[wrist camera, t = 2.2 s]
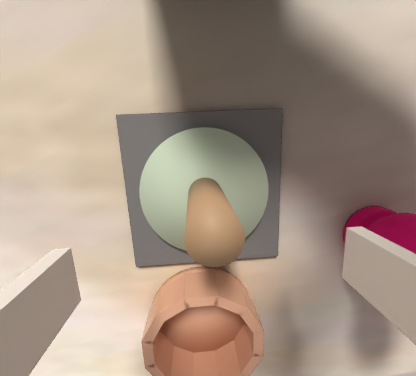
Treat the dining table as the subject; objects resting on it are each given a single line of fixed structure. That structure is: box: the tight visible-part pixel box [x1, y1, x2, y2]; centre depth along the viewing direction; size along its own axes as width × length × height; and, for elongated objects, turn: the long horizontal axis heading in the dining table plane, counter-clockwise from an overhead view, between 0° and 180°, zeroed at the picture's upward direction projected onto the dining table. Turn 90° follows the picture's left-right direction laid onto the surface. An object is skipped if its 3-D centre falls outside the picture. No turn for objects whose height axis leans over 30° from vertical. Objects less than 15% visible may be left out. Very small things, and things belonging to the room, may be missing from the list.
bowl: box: [142, 267, 263, 376], centre depth 24 cm, size 12×12×5 cm
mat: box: [116, 108, 282, 267], centre depth 23 cm, size 16×16×1 cm
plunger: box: [139, 127, 269, 267], centre depth 18 cm, size 13×13×11 cm
